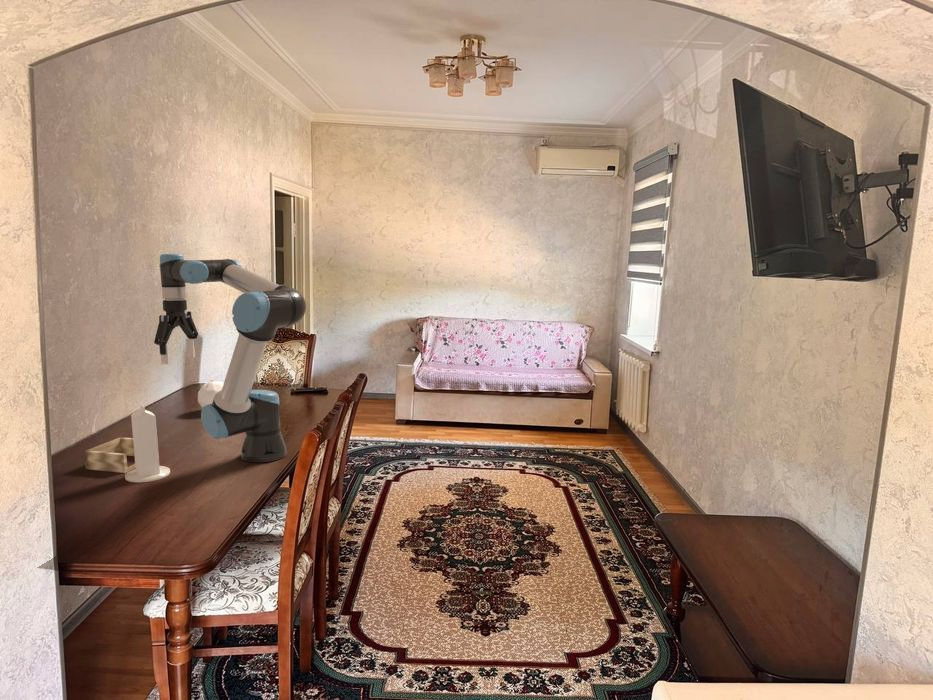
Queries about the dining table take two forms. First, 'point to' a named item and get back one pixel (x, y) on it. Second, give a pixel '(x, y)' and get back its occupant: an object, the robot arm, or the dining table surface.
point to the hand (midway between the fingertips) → (178, 360)
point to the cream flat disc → (134, 477)
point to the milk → (145, 442)
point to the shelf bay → (110, 456)
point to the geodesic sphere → (209, 392)
